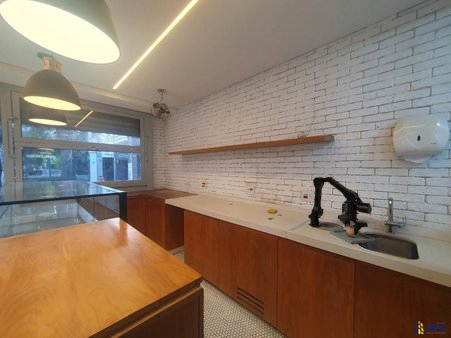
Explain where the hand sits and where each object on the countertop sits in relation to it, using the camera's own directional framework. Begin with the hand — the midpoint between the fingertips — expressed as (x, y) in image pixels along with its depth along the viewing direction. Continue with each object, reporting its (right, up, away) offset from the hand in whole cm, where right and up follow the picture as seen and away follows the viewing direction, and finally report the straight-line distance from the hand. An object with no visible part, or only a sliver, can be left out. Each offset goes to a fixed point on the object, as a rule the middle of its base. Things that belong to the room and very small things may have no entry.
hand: (351, 233), depth 125 cm
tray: (0, -3, 0) cm, 3 cm away
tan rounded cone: (0, -1, 0) cm, 1 cm away
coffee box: (+17, -2, +28) cm, 33 cm away
